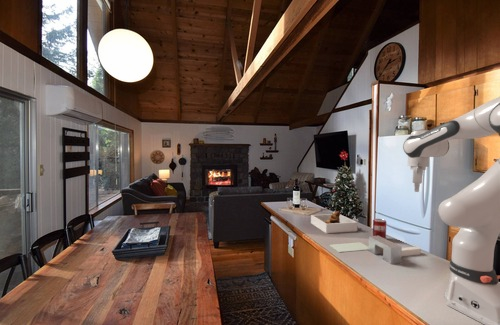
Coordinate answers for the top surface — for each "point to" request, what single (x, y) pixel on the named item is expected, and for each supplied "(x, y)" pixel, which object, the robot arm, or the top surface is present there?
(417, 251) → the plug
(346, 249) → the pad
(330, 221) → the bear figurine
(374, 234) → the soda can
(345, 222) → the white shallow square tray
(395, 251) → the notched metal block
